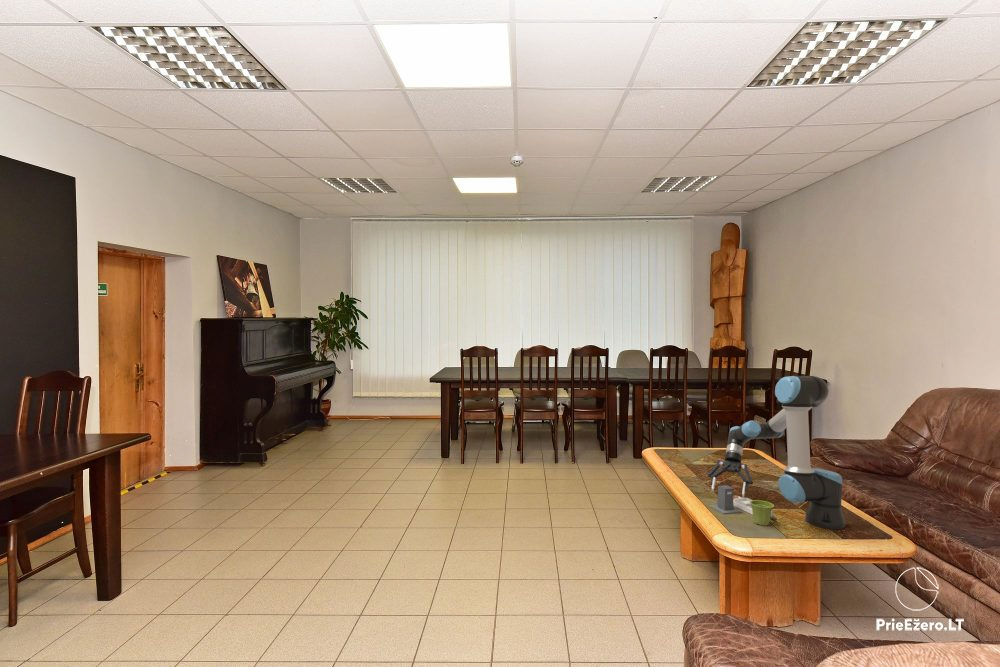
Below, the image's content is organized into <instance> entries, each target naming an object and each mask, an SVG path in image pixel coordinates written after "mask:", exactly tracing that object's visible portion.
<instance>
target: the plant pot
mask: <svg viewBox="0 0 1000 667" xmlns="http://www.w3.org/2000/svg"><path fill="white" fill-rule="evenodd" d="M752 500H753V501H750V504H751V507H752V512H753V515H752V519H753V523H754V524H756V525H760V526H768V525H770V522H771V518H770V516H771V511H773V508H774V507H775V505H774V503H771V502H769V501H767V500H760V499H759V500H758V499H755V500H754V499H752Z"/></svg>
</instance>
